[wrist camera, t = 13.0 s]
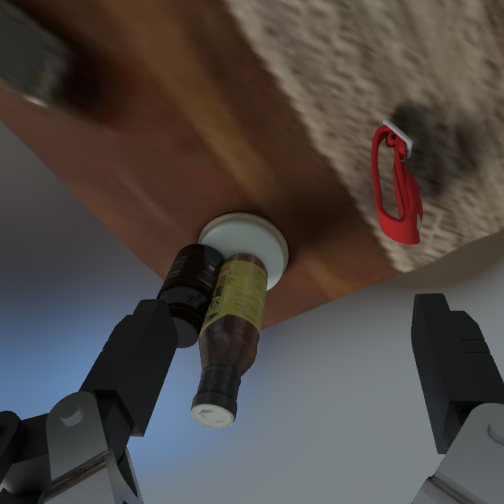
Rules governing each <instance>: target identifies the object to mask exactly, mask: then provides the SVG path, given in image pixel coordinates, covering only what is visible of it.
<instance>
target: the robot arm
mask: <svg viewBox="0 0 504 504" xmlns="http://www.w3.org/2000/svg"><path fill="white" fill-rule="evenodd" d="M411 341H412V347H413V353H414V357H415V361H416V365H417V369H418V373H419V377H420V381H421V386H422V390H423V394H424V398H425V402H426V406H427V411H428V415H429V419H430V423H431V427H432V431H433V435H434V439H435V444H436V448H437V452H438V454H446V455H445V457H444V458H443V460H442V462H441V463H440V465H439V467H438V468H437V470H436V472H435V473H434V475H433V476H432V477H428V478H427V479H426V481H425V482H424V483H423V485H422V486H421V488H420V490H419V491H418V493H417V495H416V496H415V498H414V500H413V501H412V503H411V504H504V382H503V380H502V378H501V376H500V373H499V371H498V369H497V366H496V364H495V362H494V359H493V357H492V355H490V351H489V348H488V346H487V344H486V342H485V340H484V337H483V334H482V332H481V330H480V328H479V325H478V324H477V323H476V322H475V321H474V320H473V319H472V318H471V317H470V316H469V315H468V314H467V313H466V312H465V311H450V309H449V306H448V303H447V301H446V298H445V296H444V295H443V294H442V293H434V294H416V295H415V299H414V307H413V317H412V327H411ZM177 344H178V333H177V329H176V326H175V324H174V321H173V318H172V316H171V313H170V310H169V308H168V305H167V303H166V301H165V300H164V299H151V300H141V301H140V302H139V304H138V305H137V307H136V309H135V311H134V313H133V315H127V316H126V317H125V318H123V319H122V320H121V321H120V322H119V323H118V324H117V325H116V326H115V328H114V330H113V332H112V333H111V335H110V337H109V338H108V341H107V342H106V344H105V345H104V347H103V349H102V350H103V351H102V352H101V353H100V354H99V356H98V358H97V360H96V361H95V363H94V365H93V367H92V368H91V370H90V372H89V374H88V375H87V377H86V379H85V381H84V382H83V384H82V386H81V388H80V389H79V391H78V392H75V393H72V394H70V395H68V396H66V397H64V398H63V399H61V400H60V401H59V402H58V403H57V404H56V405H55V406H54V407H53V408H52V410H51V411H50V413H47V414H43V415H40V416H36V417H32V418H29V419H25V420H21V419H20V418H19V417H18V416H17V415H16V413H14V412H11V411H2V412H0V485H2V486H3V489H2V491H1V492H0V504H144V502H143V499H142V496H141V492H140V489H139V485H138V483H137V479H136V475H135V472H134V468H133V465H132V462H131V458H130V455H129V451H128V449H127V447H126V445H127V443H128V440H129V437H130V436H138V437H139V436H140V437H143V436H144V434H145V431H146V428H147V426H148V423H149V420H150V418H151V415H152V412H153V410H154V407H155V404H156V402H157V399H158V396H159V394H160V391H161V388H162V386H163V383H164V380H165V377H166V375H167V372H168V370H169V367H170V364H171V362H172V359H173V356H174V354H175V350H176V348H177Z"/></svg>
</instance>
